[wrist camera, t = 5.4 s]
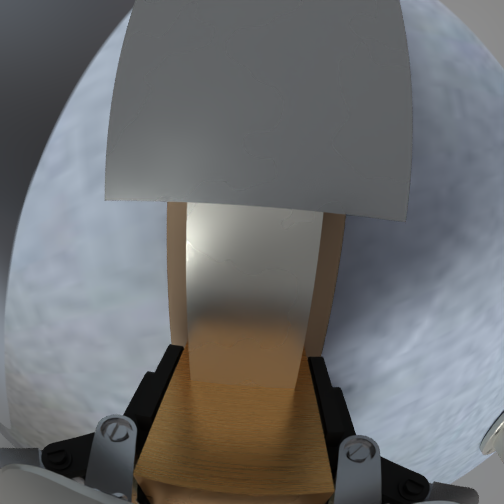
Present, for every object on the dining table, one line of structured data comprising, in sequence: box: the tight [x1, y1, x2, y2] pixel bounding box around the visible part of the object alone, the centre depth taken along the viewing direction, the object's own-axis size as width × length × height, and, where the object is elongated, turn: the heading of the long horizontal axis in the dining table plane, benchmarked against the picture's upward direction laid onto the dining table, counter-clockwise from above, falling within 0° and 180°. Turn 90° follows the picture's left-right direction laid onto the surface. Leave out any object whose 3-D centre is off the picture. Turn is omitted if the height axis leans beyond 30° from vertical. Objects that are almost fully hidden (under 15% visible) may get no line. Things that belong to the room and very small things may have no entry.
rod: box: [133, 202, 335, 504], centre depth 7 cm, size 4×15×7 cm, turn 176°
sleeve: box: [105, 0, 413, 222], centre depth 6 cm, size 6×8×5 cm
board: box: [167, 202, 346, 360], centre depth 11 cm, size 7×24×1 cm, turn 176°
